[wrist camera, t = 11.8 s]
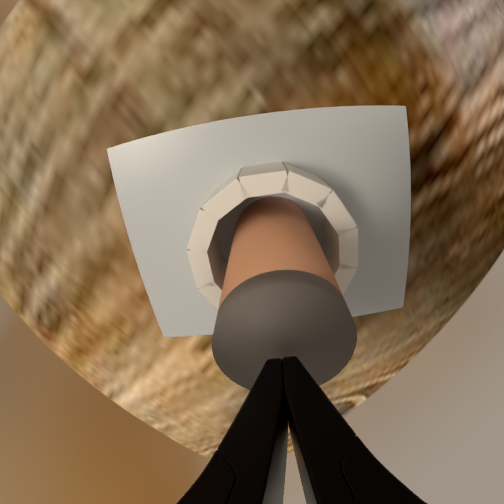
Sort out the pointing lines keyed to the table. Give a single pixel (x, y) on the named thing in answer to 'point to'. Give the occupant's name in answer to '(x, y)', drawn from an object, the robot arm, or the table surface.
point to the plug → (280, 298)
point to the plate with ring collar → (267, 185)
